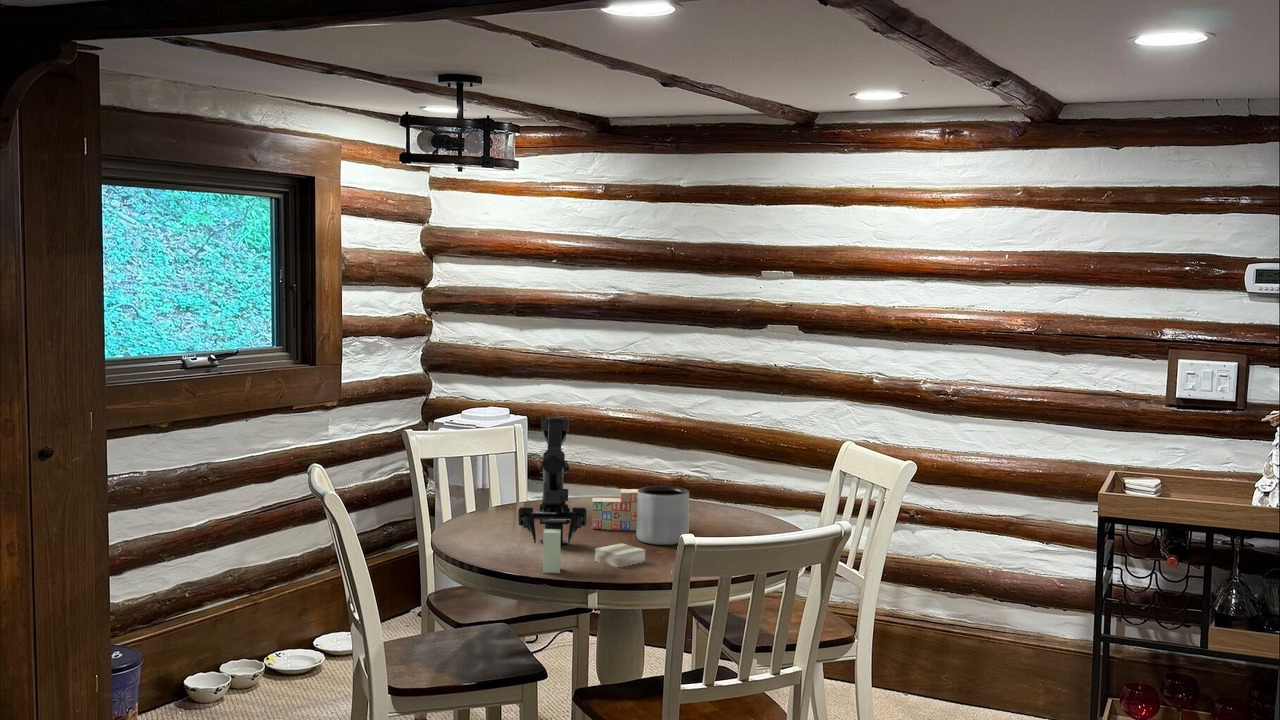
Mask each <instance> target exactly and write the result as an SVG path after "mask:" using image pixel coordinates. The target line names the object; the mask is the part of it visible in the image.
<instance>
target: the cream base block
mask: <svg viewBox="0 0 1280 720" xmlns="http://www.w3.org/2000/svg"><path fill="white" fill-rule="evenodd" d="M594 561H595V562H596V561H598V562H597V563H600V562H601V563H600V564H603V563H605V564H604V565H606V564H609V565H608V566H610V565H612V566H611V567H613V566H616V567H621V568H623V567H622V566H626V565H631V566H633V565H632V564H635V565H638V564H637V563H640V564H642V563H641V562H645V563H646V549H644V548H641V547H638V546H637V547H636V546H633V545H629V544H626V543H623V542H622V543H616V544H612V545H606V546H601V547H596V548H594ZM616 567H615V568H616ZM626 567H627V566H626Z"/></svg>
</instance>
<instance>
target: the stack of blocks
mask: <svg viewBox="0 0 1280 720" xmlns="http://www.w3.org/2000/svg"><path fill="white" fill-rule="evenodd" d="M638 489H639V488H637V489H636V488H631V489H630V488H629V489H627V488H620V493H619V497H618V498H615V497H614V498H611V497H592V501H591V502H592V503H591V504H592V505H591V506H592V508H591V529H592V530H593V529H601V531H602V530H603V529H606V530H605V531H607V530H608V531H611V530H612V531H636V530H637V498H638ZM603 531H604V530H603Z"/></svg>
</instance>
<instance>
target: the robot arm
mask: <svg viewBox="0 0 1280 720" xmlns="http://www.w3.org/2000/svg"><path fill="white" fill-rule="evenodd" d="M569 430H570V420H569V419H567V418H566V416H545V418H544V419H543V418H542V419H541V430H540V431H541V432H543V439H544V441H545V442H546V443H547V449H546V450H545V452H544V453H543V454H542V455H543V456H542V460H540V464H539V470H540V471H539V474H542V479H543V480H542V481H543V483H542V499H541V501H542V502H541V503H540V504H539V511H534V506H520V507H519V508H518V525H519V526H521V527H523V528H524V529H527V531H528V532H529V534H530V536H531V539H532V541H533V544H536V543H537V542H536V541H537V537H536V536H537V535H536V527H535V520H539V525H543V530H544V529H561V541H560V546H561V545H567V544H571V541H572V539H573V537H574V536H575V533H576V531H577V530H578V529H581V528H582V527H585V526H586V525H587V509H586V507H584V506H572V507H571V508H572V511H571V508H570V507H569V505H568V503H566V502H569V488H564V477H565V474H567V473H569V472H568V471H570V464H569V463H568V461H567V460H565V459H566V458H565V456H566V455H565V452H563V450H562V446H563V445H564V443H565V441H566V440H567V433H568V432H569ZM564 525H569V529H568V535H567V541H565V540H564ZM539 542H540V543H542V544H543V539H540V540H539Z"/></svg>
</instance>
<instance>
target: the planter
mask: <svg viewBox="0 0 1280 720" xmlns="http://www.w3.org/2000/svg"><path fill="white" fill-rule="evenodd" d="M637 489H638V498H637V530H635V531H636V534H635V535H636V539H637V540H639V541H640V542H641V543H644V544H647V545H648V544H649V545H653V546H654V545H655V546H674V545H675V544H676V545H678V544H677V543H678V540H679V537H680V535H681V534H686V533H689V534H690V532H689V531H690V525H689V523H690V515H689V513H690V491H689V490H688V489H686V488H684V487H679V486H671V485H653V486H645V487H640V488H637Z"/></svg>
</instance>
